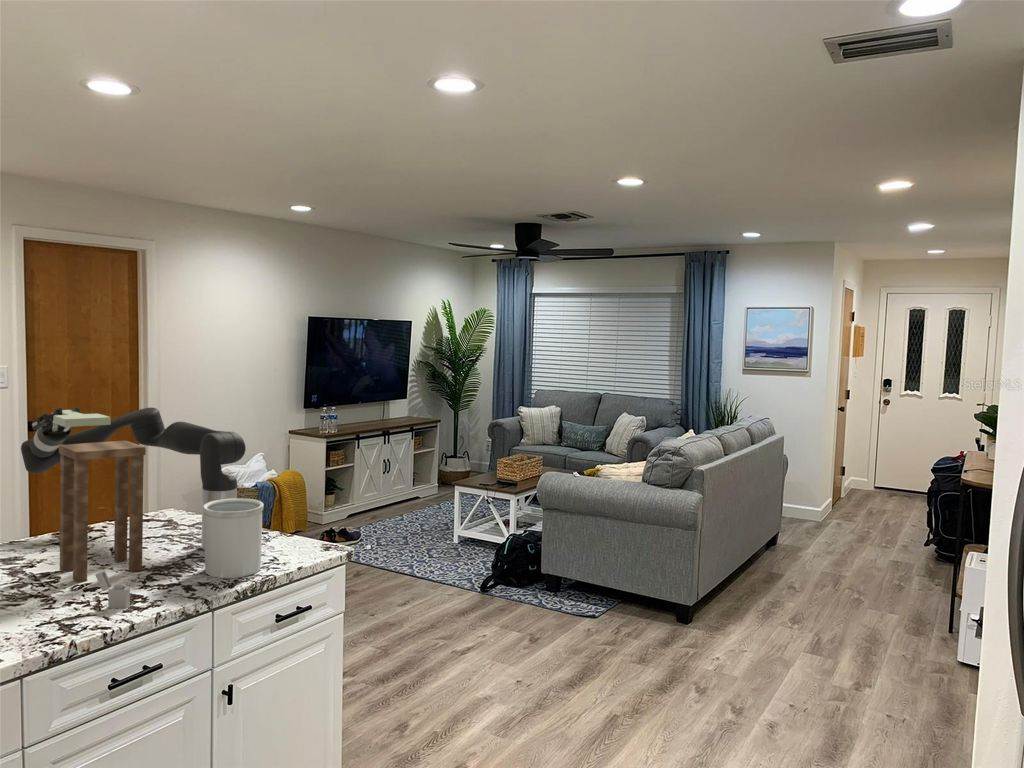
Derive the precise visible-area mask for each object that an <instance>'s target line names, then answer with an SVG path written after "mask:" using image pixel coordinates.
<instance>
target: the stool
mask: <svg viewBox="0 0 1024 768" xmlns="http://www.w3.org/2000/svg"><path fill="white" fill-rule="evenodd" d="M146 449H147V447H146V446H145V445H141V444H139V443H138V444H137V443H134V442H132V441H129V440H116V441H115V440H114V441H113V440H112V441H111V440H110V441H105V442H96V443H82V444H67V445H59V453H60V454H61V456H60V463H59V464H60V467H59V468H60V472H59V473H60V477H59V479H60V483H59V486H60V487H59V496H60V497H59V498H60V499H59V571H61V573H66V572H67V573H68V572H72V581H73V582H75V583H81V582H82V583H83V582H86V581H88V549H89V547H88V542H89V541H88V538H89V537H88V534H89V533H88V532H89V531H88V529H89V526H88V525H89V523H88V522H89V521H88V520H89V519H88V518H89V517H88V516H89V460H98V459H101V460H102V459H111V458H115V459H114V462H115V464H114V474H115V475H114V535H113V536H114V541H113V542H114V545H113V546H114V547H113V548H114V549H113V550H114V551H113V553H114V554H113V561H114V562H116V563H122V562H123V563H124V562H128V570H129V571H130V572H132V573H133V572H139V571H143V547H144V546H143V541H144V540H143V539H144V538H143V536H144V535H143V532H144V531H143V527H144V526H143V525H144V519H143V518H144V475H145V474H144V466H145V465H144V464H145V461H144V460H145V459H144V458H145V457H144V456H146V453H147V452H146ZM128 513H129V514H128ZM128 515H129V517H128ZM128 518H129V519H128ZM128 522H129V523H128ZM128 524H129V525H128ZM128 526H129V528H128ZM128 532H129V534H128Z"/></svg>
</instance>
